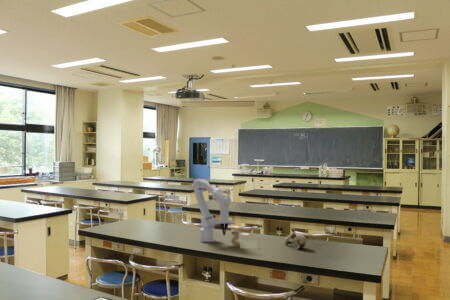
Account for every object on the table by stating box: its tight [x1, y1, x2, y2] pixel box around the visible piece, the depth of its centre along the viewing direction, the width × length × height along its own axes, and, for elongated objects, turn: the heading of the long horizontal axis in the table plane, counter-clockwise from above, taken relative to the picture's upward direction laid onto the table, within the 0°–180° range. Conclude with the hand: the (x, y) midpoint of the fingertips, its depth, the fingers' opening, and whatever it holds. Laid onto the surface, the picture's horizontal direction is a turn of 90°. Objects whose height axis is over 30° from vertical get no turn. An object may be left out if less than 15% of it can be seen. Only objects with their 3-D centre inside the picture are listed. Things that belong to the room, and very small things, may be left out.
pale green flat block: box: [239, 238, 260, 250], centre depth 235 cm, size 13×20×2 cm, turn 0°
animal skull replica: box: [284, 232, 308, 250], centre depth 231 cm, size 8×17×10 cm, turn 40°
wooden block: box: [230, 229, 240, 247], centre depth 235 cm, size 5×8×9 cm, turn 0°
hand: (224, 234), depth 236 cm, fingers closed
